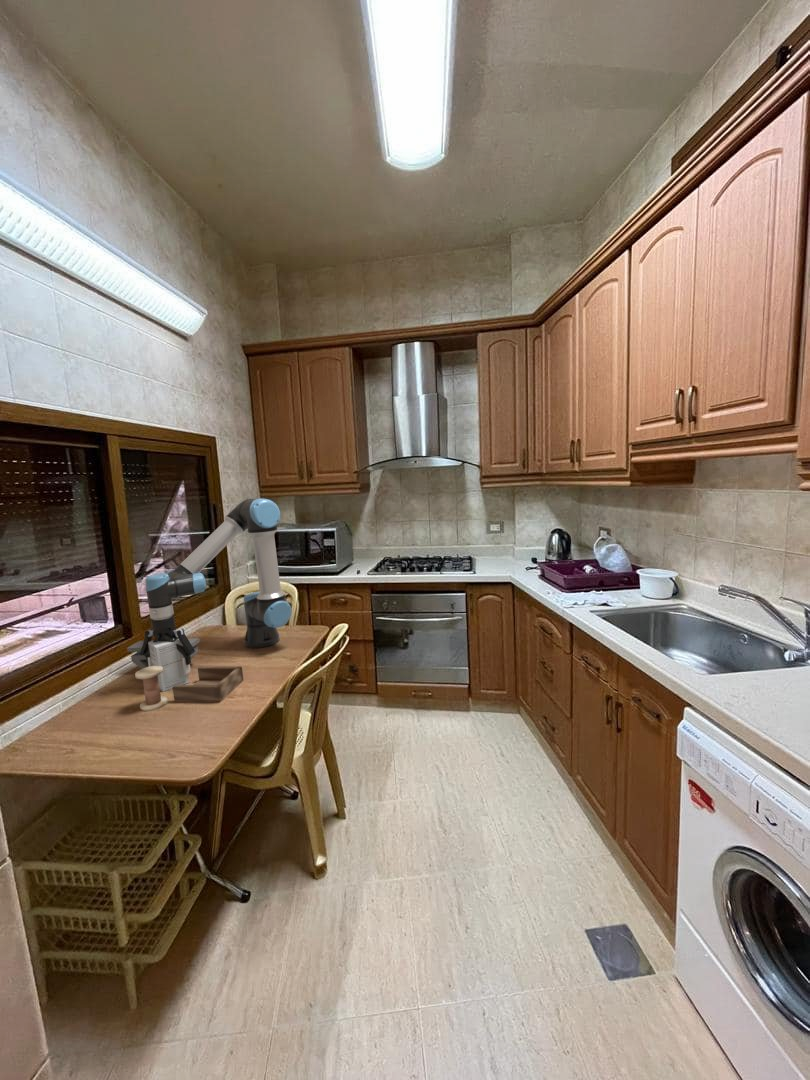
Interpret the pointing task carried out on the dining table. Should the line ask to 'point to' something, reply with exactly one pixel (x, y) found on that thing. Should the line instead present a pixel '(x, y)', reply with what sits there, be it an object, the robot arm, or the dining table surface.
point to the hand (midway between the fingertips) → (170, 673)
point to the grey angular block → (141, 660)
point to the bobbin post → (151, 688)
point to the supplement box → (168, 663)
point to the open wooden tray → (210, 685)
